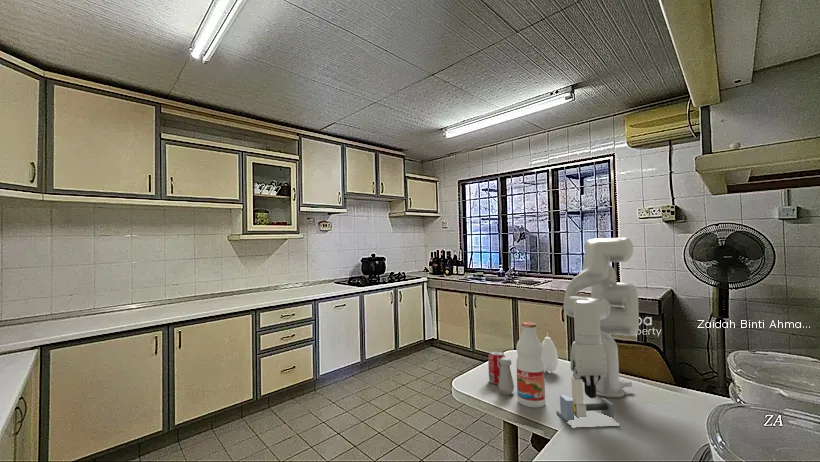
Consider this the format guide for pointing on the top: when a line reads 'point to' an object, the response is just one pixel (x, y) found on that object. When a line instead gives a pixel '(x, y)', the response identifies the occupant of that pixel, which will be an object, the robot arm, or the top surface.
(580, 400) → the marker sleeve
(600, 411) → the blue block with rod
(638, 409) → the top surface
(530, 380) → the fruit juice
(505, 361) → the salt shaker
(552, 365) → the sauce bottle
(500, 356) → the soda can
